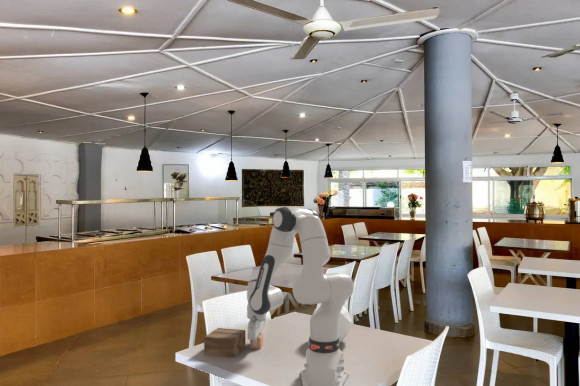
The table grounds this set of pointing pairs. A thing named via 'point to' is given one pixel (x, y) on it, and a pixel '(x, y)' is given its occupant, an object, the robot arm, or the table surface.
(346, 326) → the polyhedron
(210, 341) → the walnut box
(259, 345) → the cube
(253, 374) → the table surface
